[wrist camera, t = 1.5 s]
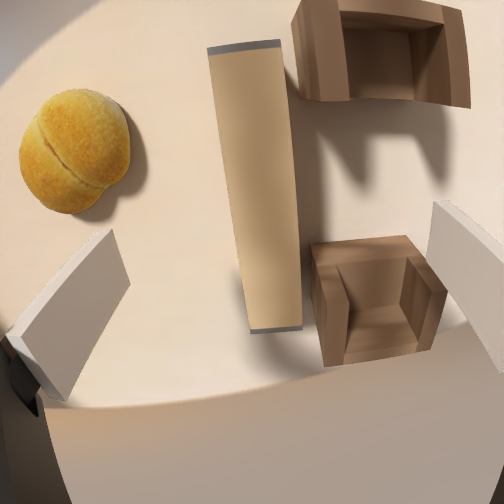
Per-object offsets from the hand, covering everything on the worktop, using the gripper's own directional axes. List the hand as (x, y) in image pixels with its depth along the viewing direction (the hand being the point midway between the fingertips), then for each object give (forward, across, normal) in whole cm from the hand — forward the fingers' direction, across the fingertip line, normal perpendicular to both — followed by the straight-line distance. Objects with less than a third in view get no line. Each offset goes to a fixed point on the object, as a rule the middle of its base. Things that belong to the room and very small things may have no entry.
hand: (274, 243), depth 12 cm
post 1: (+9, +6, +8) cm, 13 cm away
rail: (+9, 0, 0) cm, 9 cm away
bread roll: (+9, -13, +4) cm, 17 cm away
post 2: (+9, +6, -7) cm, 13 cm away
